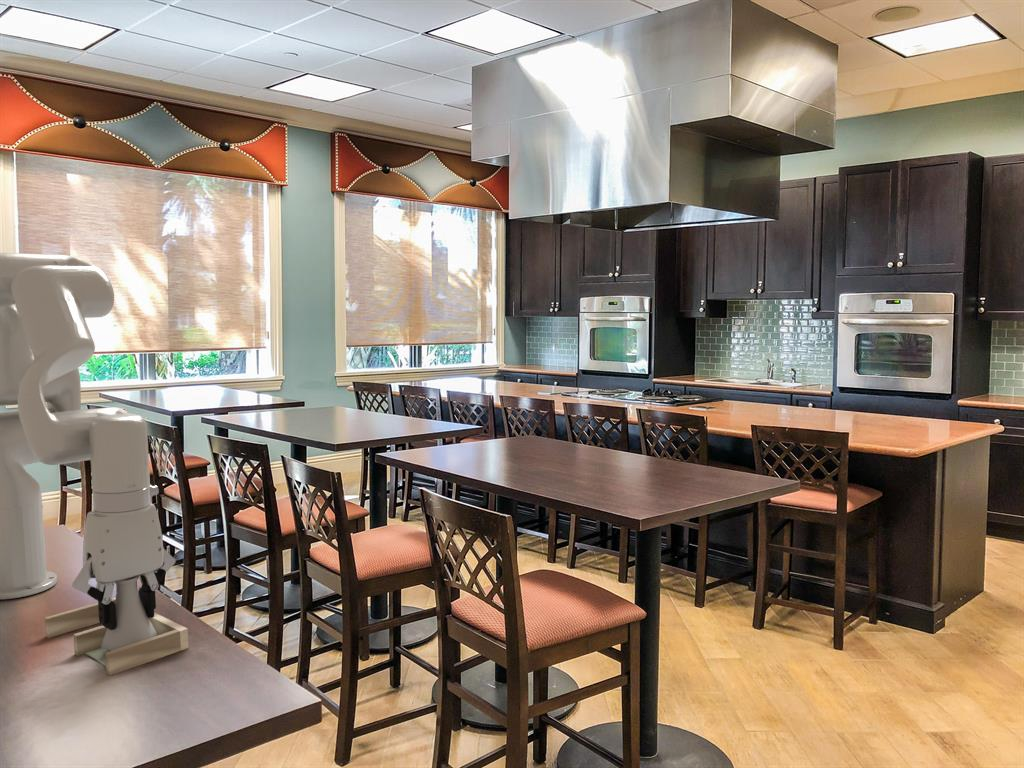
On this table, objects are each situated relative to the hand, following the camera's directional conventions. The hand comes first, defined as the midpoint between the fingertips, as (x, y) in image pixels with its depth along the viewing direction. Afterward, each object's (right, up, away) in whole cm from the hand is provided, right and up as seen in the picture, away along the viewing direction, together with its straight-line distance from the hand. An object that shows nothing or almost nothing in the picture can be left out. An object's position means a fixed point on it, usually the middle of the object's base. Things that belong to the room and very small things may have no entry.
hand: (128, 620), depth 122 cm
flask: (0, -4, 0) cm, 4 cm away
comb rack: (-4, -4, +4) cm, 7 cm away
